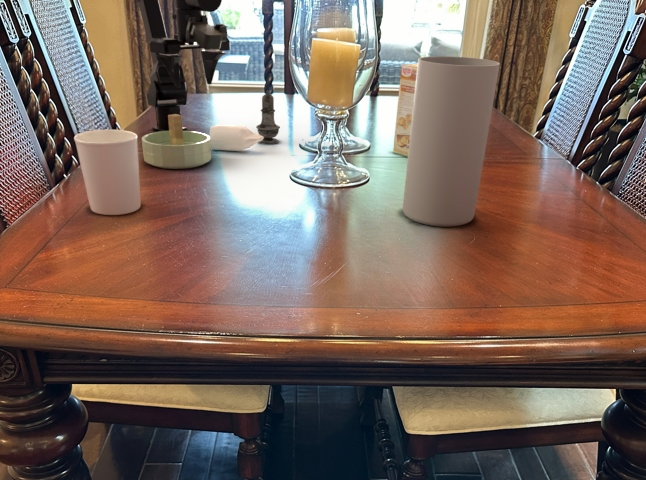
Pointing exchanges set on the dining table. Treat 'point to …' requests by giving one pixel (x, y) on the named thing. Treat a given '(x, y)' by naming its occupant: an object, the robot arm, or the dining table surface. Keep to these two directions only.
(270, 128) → the salt shaker
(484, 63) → the cylinder vase
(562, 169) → the dining table surface
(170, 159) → the bowl
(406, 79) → the coffeecake box
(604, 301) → the dining table surface
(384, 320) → the dining table surface
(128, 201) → the white cup
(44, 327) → the dining table surface
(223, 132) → the white milk carton
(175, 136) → the stick
